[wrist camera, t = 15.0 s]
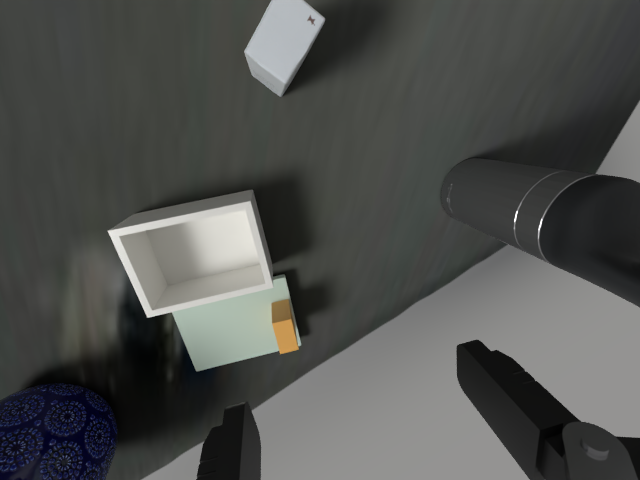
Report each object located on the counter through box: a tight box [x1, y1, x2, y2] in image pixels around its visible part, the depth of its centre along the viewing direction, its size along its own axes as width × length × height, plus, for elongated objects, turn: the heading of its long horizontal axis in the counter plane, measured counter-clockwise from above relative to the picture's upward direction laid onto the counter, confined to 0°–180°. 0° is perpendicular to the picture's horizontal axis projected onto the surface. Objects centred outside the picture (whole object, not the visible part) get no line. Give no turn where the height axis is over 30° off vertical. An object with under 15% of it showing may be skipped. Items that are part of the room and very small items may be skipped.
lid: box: [172, 274, 301, 372], centre depth 43 cm, size 16×12×7 cm
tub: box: [108, 189, 274, 318], centre depth 38 cm, size 15×11×7 cm
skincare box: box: [244, 0, 325, 97], centre depth 30 cm, size 6×4×12 cm
